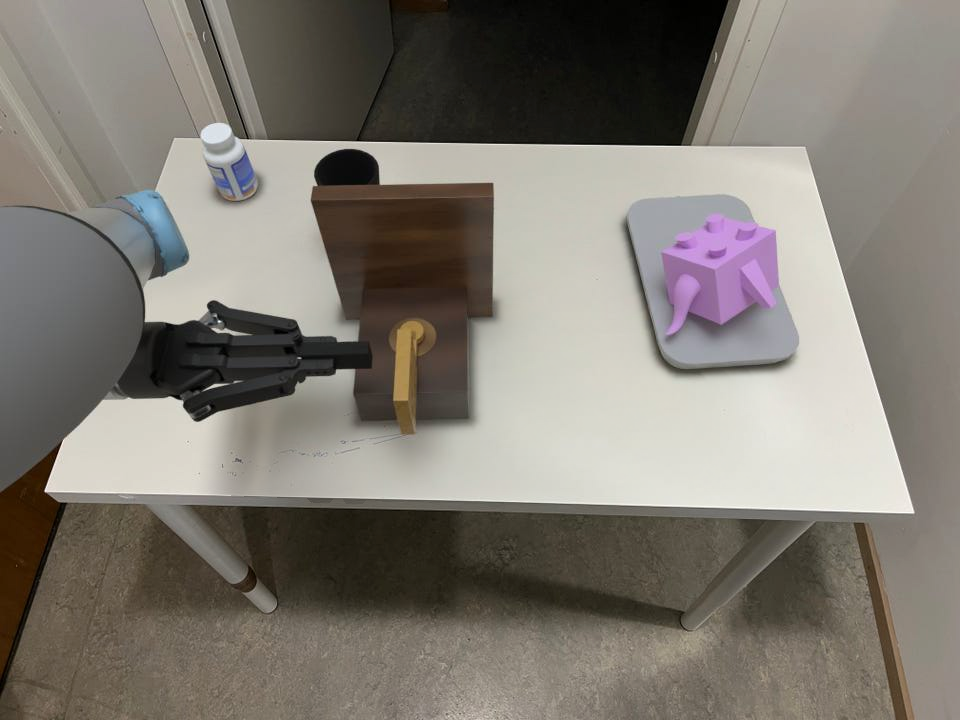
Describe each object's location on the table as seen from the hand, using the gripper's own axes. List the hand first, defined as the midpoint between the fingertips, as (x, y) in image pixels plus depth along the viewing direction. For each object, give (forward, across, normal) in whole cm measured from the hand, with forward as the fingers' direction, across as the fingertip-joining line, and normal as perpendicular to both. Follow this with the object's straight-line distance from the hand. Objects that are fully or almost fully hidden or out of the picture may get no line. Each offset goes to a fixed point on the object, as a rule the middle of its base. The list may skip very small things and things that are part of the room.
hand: (370, 355), depth 67 cm
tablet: (+39, +17, +12) cm, 44 cm away
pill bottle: (-22, +36, +12) cm, 44 cm away
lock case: (+4, +6, +12) cm, 14 cm away
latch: (+3, +1, +6) cm, 7 cm away
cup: (-4, +26, +12) cm, 29 cm away
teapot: (+37, +15, 0) cm, 40 cm away
